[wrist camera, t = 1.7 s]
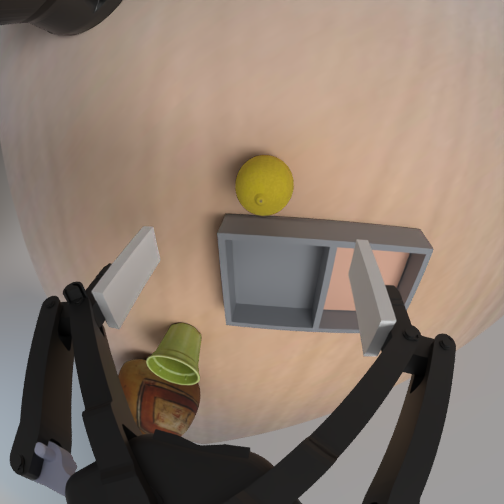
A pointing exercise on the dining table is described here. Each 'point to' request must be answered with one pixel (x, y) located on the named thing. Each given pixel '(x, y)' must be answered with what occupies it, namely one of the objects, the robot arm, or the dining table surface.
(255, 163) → the lemon
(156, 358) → the plant pot
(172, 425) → the ceramic pitcher
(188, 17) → the dining table surface
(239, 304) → the sorting tray
